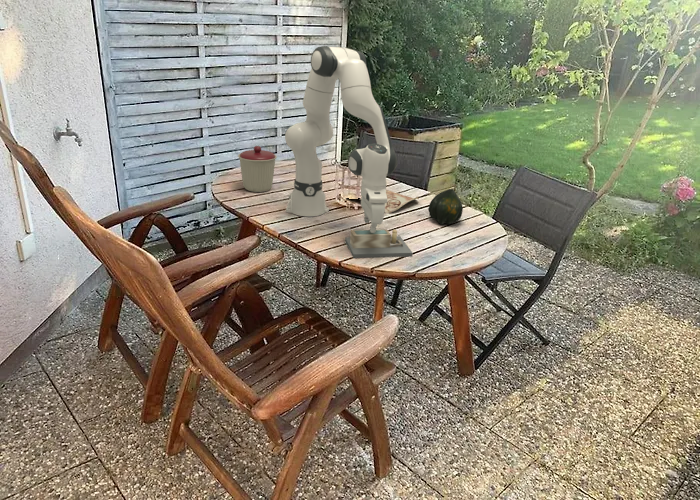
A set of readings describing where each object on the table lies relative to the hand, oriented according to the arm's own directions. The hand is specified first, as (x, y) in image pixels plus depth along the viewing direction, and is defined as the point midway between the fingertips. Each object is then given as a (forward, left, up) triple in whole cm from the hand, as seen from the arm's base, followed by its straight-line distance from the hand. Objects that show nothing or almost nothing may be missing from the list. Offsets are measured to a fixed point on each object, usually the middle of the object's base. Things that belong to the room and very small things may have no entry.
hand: (369, 226), depth 194 cm
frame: (0, +3, -7) cm, 8 cm away
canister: (-75, -37, -9) cm, 84 cm away
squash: (-28, +41, -9) cm, 50 cm away
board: (0, +4, -9) cm, 9 cm away
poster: (-57, +21, -9) cm, 61 cm away
